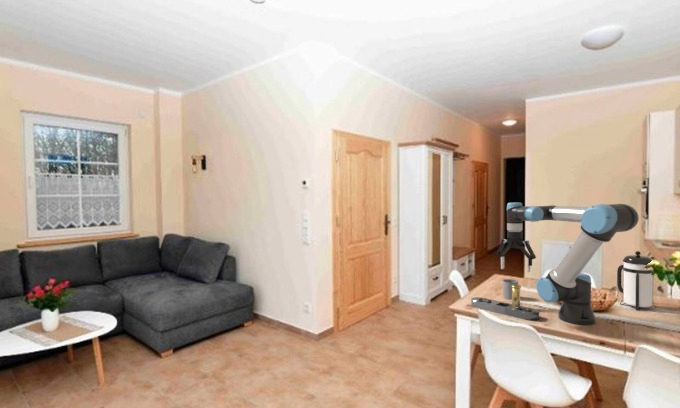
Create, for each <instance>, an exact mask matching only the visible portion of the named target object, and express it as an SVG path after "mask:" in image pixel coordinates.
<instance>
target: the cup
mask: <svg viewBox="0 0 680 408" xmlns="http://www.w3.org/2000/svg"><path fill="white" fill-rule="evenodd" d="M511 285H519V280H516V279H509V278H507V279H503V280H502V297H503V299H505V300H510V301H512V287H511Z"/></svg>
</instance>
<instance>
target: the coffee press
mask: <svg viewBox="0 0 680 408" xmlns="http://www.w3.org/2000/svg"><path fill="white" fill-rule="evenodd" d="M651 261H653V259H652V258H650V257H648V256H646V255H641V252H640V251H638V250H637V251H635V252H634V254H631V255H630V254H628V255H626V256H624V258H623V259H622V263H623V264H620V265H619V266H618V268H617V271H616V272H617V273H616V275H617V276H616V277H617V278H616V286H617V289H618V290H619V292H620V293H622V300H620V302H619V305H621V306H623V305H625V304H626V305H629V306H630V307H631V306H632V307H635V311H638V310H640V308H651V309H652V310H653V309H657V307H656V305H655V304H654V303H653V299H654V274H653V275H651V274H652V269H651V268H648V269H646V268H644V267H645V266H646V265H647V264H648V263H650V262H651ZM622 273H623V280H622ZM622 302H624V303H622ZM652 306H653V307H652Z"/></svg>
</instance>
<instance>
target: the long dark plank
mask: <svg viewBox="0 0 680 408" xmlns="http://www.w3.org/2000/svg"><path fill="white" fill-rule="evenodd" d="M470 299H471V302H470V303H471V304H470V305H472V306H473V307H472V306H471V307H472V308H475V307H476V308H475V309H479V308H480V309H481V310H484V311H487V312H488V311H489V312H493V313H496V314H501V315H504V316H509V317H513V318H517V319H521V320H525V321H531V322H532V321H535V322H536V321H539V320H540V310H538V309H535V308H532V307H527V306H523V305H520V306H519V305H514V304H512V303H509V302H504V301H501V300H497V299H496V300H495V299H491V298H486V297H480V296H479V297H477V296H476V297H472V298H470Z"/></svg>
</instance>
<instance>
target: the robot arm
mask: <svg viewBox="0 0 680 408" xmlns="http://www.w3.org/2000/svg"><path fill="white" fill-rule="evenodd" d="M639 217H640V216H639V213H638V212H637V210H636V209H635V208H634V207H632V206H631V205H629V204H623V203H615V204H613V203H612V204H603V203H602V204H601V203H600V204H596V205H592V206H591V205H590V206H571V205H570V206H569V205H568V206H566V205H565V206H564V205H553V204H552V205H550V204H549V205H537V206H535V205H534V206H533V205H532V206H531V205H530V206H523V203H522V202H508V203H507V204H506V230H507V232H506V236H507V237H506V238H507V239H505V238H502V239H501V240H500V241H501V242H500V244H499V247H498V248H497V250H496V252H495V255H496V256H498V257H499V259H498V260H499V263H500V269H501V270H504V269H505V254H507V252H508V251H509V250H510V249H519V250H520V251H521V252H522V254H523V255H524V256H525V257H526V258H527V259H526V273H530V272H531V267H532V266H533V260H534V259H537V256H536V255H535V253H534V251H533V249H532V246H531V245H530V244H531V243H530V240H523V239H524V237H523V235H524V232H523V230H524V229H523V221H524V222H531V223H533V222H539V221H558V222H567V223H568V222H570V223H580V224H581V225H580V226H579V227H580V230H581V232H580V233H579V235H578V237H577V238H576V239H575V241H574V243H573V244H572V245H571V247H570V248H569V249H568V250H567V253H566V254H565V256H564V257H563V258H562V259H561V261H560V263H559V264H558V266H557V267H556V268H552V269H550V270H549V272H548V273H547V275H546V276H545V277H540V278H538V279H537V281H536V284H535V288H536V291H537V294H538V296H539V297H540V298H541V300H543V301H544V302H546V303H559V302H561V305H560V308H559V310H558V319H559V320H561V321H563V322H566V323H570V324H573V325H583V326H587V325H588V326H589V325H594V324H596V316H595V314H594V309H593V308H592V282H591V281H592V280H591V279H592V278H591V276H590V275H589V274H587V273H584V272H582V271H583V270H584V268H586V266H587V265H588V264H589V262H590V261H591V260H592V258H593V257H594V255H595V254H596V253H597V251H598V250H599V249H600V247H601V246H602V244H604V243H609V242H610V241H611V240H612V239H613V237H614V236H615V235H616V233H622V232H628V231H631V230H632V229H634V228H635V227H636V226H637V224H638V223H639V220H640V219H639ZM506 243H507V245H506ZM523 244H524V246H523ZM505 245H506V246H505ZM504 246H505V247H504ZM525 247H526V249H525Z"/></svg>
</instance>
